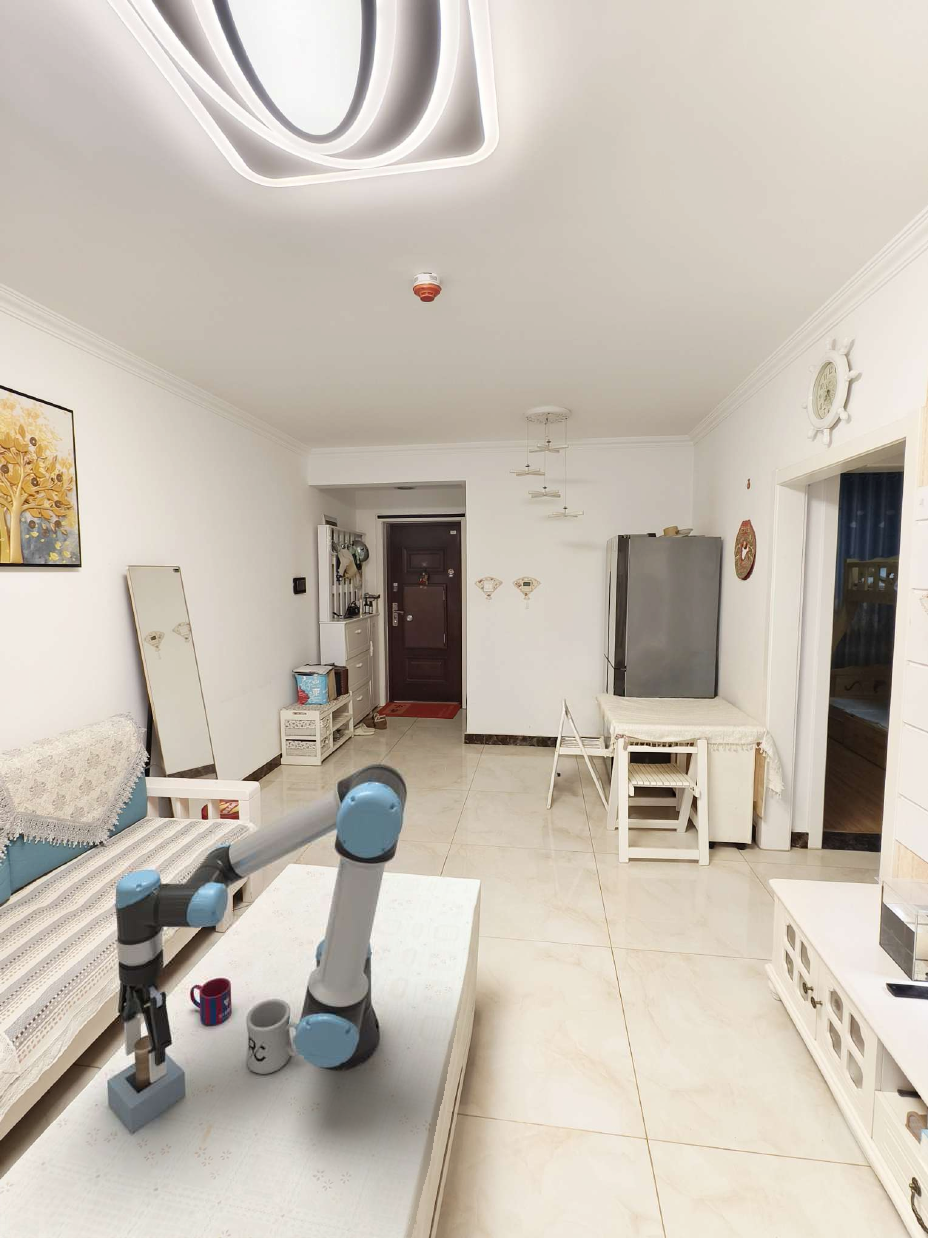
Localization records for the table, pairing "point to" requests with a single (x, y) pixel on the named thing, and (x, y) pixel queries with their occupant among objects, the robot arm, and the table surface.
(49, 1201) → the table surface
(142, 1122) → the socket block
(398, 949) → the table surface
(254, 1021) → the mug
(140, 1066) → the dowel
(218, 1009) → the cup
